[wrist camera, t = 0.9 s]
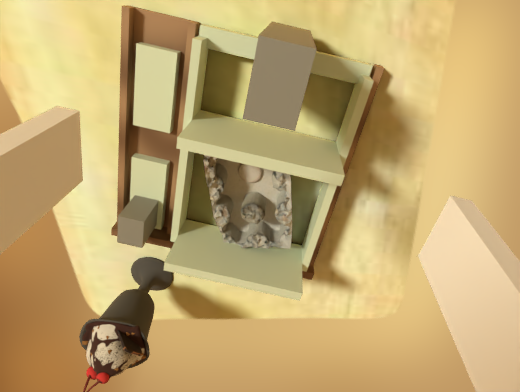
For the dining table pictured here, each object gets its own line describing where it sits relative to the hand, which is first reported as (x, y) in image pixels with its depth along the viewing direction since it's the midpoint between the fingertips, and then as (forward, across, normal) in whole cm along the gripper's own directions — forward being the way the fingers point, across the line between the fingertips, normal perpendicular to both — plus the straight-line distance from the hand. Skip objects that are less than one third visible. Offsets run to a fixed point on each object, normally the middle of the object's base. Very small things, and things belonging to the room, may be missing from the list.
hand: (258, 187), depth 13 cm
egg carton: (+20, 0, -11) cm, 23 cm away
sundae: (+20, -10, -26) cm, 34 cm away
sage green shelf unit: (+20, 0, -7) cm, 21 cm away
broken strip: (+20, -10, -10) cm, 25 cm away
